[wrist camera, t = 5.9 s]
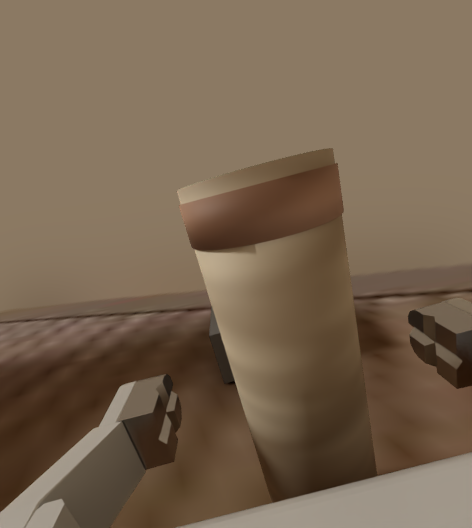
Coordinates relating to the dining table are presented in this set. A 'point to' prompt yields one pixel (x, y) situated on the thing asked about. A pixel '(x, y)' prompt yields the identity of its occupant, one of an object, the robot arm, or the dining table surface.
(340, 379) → the dowel
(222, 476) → the dining table surface
